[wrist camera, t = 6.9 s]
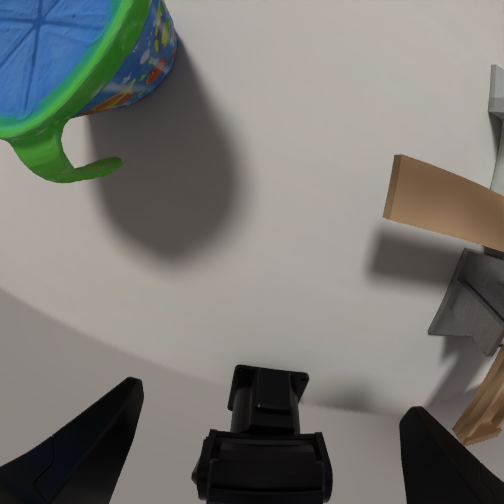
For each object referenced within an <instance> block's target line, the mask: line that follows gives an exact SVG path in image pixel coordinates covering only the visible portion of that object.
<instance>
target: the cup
mask: <svg viewBox="0 0 504 504" xmlns="http://www.w3.org/2000/svg"><path fill="white" fill-rule="evenodd" d="M490 190H492V191H494V192H496V193H498V194H501V195H503V196H504V121H503V125H502V132H501V139H500V145H499V151H498V156H497V161H496V166H495V171H494V175H493V180H492V184H491V188H490Z"/></svg>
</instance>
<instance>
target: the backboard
mask: <svg viewBox="0 0 504 504" xmlns="http://www.w3.org/2000/svg"><path fill="white" fill-rule="evenodd" d="M488 112H490V113H491V114H493V115H495V116H496V117H498V118H499V119H501V120H502V121H504V70H503V69H502V68H500V67H499V66H497V65H491V85H490V97H489V107H488Z"/></svg>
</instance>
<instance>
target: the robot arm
mask: <svg viewBox="0 0 504 504" xmlns="http://www.w3.org/2000/svg"><path fill="white" fill-rule="evenodd" d="M240 370H242V371H240ZM308 380H309V377H308V374H307V373H302V372H293V371H284V370H275V369H267V368H260V367H253V366H246V365H237V366H236V367H235V370H234V375H233V381H232V386H231V391H230V396H229V402H228V410H230V411H233V413H232V421H231V429H230V432H225V431H217V430H215V429H210V433H209V436H208V437H206V439H204V441H203V447H202V452H201V456H200V458H199V460H198V462H197V464H196V466H195V468H194V470H193V473H192V477H191V478H192V481H193V482H194V483H195V484H196V485H197V490H198V497H199V499H200V500H205V501H207V502H206V503H207V504H323V503H327V502H328V501H329V499H330V496H331V492H332V483H333V477H332V476H333V475H332V468H331V463H330V459H329V456H328V452H327V449H326V445H325V442H324V438H323V435H322V432H315V433H314V434H300V424H299V411H298V403H299V401H300V398H301V396H302V394H303V392H304V389H305V387H306V385H307V383H308ZM143 400H144V392H143V385H142V381H141V380H140V379H137V378H134V377H127V378H126V379H125V380H124V381H122V382H121V383H120V384H119V385H117V386H116V387H115V388H113V389H112V390H111V391H110V392H108V393H107V394H106V395H104V396H103V397H102V398H100V399H99V400H98V401H96V402H95V403H94V404H93V405H91V406H90V407H89V408H87V409H86V410H85V411H83V412H82V413H81V414H80V415H78V416H77V417H76V418H74V419H73V420H72V421H71V422H69V423H68V424H66V425H65V426H64V427H62V428H61V429H60V430H58V431H57V432H56V433H55V434H53V435H52V437H51V436H50V437H49V438H47V439H46V440H45V441H43V442H42V443H41V444H39V445H38V446H36V447H35V448H33V449H32V450H30V451H29V452H27V453H25V454H23V455H21V456H20V457H18V458H16V459H14V460H12V461H10V462H8V463H6V464H4V465H3V466H1V467H0V504H109V502H110V499H111V496H112V494H113V491H114V488H115V486H116V483H117V481H118V478H119V476H120V473H121V470H122V468H123V465H124V462H125V460H126V457H127V455H128V452H129V450H130V447H131V445H132V442H133V439H134V435H135V431H136V427H137V423H138V419H139V416H140V412H141V408H142V404H143ZM399 428H400V442H401V461H402V468H403V475H404V483H405V491H406V500H407V504H504V482H503V481H501V480H500V479H499V478H498V477H496V476H495V475H494V474H493V473H492V472H490V471H489V470H488V469H487V468H486V467H485V466H484V465H483V464H482V463H480V461H479V460H478V459H477V458H475V456H474V455H472V454H471V453H470V452H469V451H468V450H467V449H466V448H465V447H464V446H463V445H462V444H461V443H460V442H459V441H458V440H457V439H456V438H454V436H452V435H451V434H450V433H449V432H448V431H447V430H446V429H445V428H444V427H443V426H442V425H441V424H440V423H439V422H438V421H437V420H436V419H435V418H434V417H433V416H431V415H430V414H429V413H428V412H427V411H426V410H425V409H424V408H423V407H421V406H415V407H411V408H410V409H409V410H408V411H407V413H406V414H405V415H404V416H403V418H402V419H401V421H400V424H399Z"/></svg>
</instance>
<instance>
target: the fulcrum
mask: <svg viewBox="0 0 504 504" xmlns="http://www.w3.org/2000/svg"><path fill="white" fill-rule="evenodd" d="M428 331H429V332H430V334H437V335H456V336H472V337H473V339H474V340H475V341H476V343H477V344H478V345H479V347H480V348H481V349H482V351H483V352H484V354H485V355H486V356H493V355H494V353H495V351H496V350H497V348H498V347H502V345H503V344H500V343H501V342H502V340H503V338H504V259H502V258H498V257H495V256H492V255H488V254H485V253H481V252H478V251H474V250H471V249H467V248H464V251H463V253H462V256H461V259H460V261H459V264H458V266H457V269H456V271H455V274H454V276H453V279H452V281H451V283H450V286H449V288H448V290H447V292H446V295H445V297H444V299H443V301H442V303H441V306H440V308H439V310H438V312H437V314H436V316H435V318H434V320H433V322H432V324H431V326H430V328H429V330H428Z"/></svg>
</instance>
